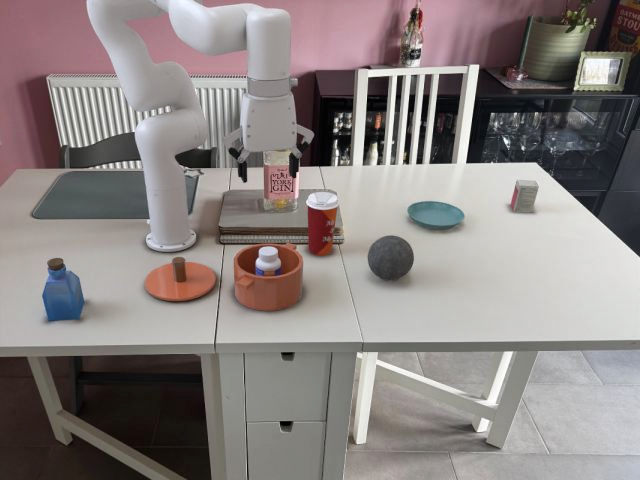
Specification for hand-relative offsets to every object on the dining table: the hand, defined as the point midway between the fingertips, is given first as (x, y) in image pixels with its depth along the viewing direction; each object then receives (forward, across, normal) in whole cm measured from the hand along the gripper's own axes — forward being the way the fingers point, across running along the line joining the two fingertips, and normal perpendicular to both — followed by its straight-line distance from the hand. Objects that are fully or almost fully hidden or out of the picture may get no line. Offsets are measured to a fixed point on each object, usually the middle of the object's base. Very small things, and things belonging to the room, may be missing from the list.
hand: (268, 178), depth 110 cm
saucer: (+26, -51, -24) cm, 62 cm away
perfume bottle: (+26, +43, -2) cm, 50 cm away
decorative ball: (+26, -28, 0) cm, 38 cm away
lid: (+26, +18, -8) cm, 32 cm away
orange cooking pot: (+26, 0, 0) cm, 26 cm away
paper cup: (+26, -17, -15) cm, 35 cm away
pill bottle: (+26, 0, 0) cm, 26 cm away
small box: (+26, -78, -25) cm, 86 cm away
